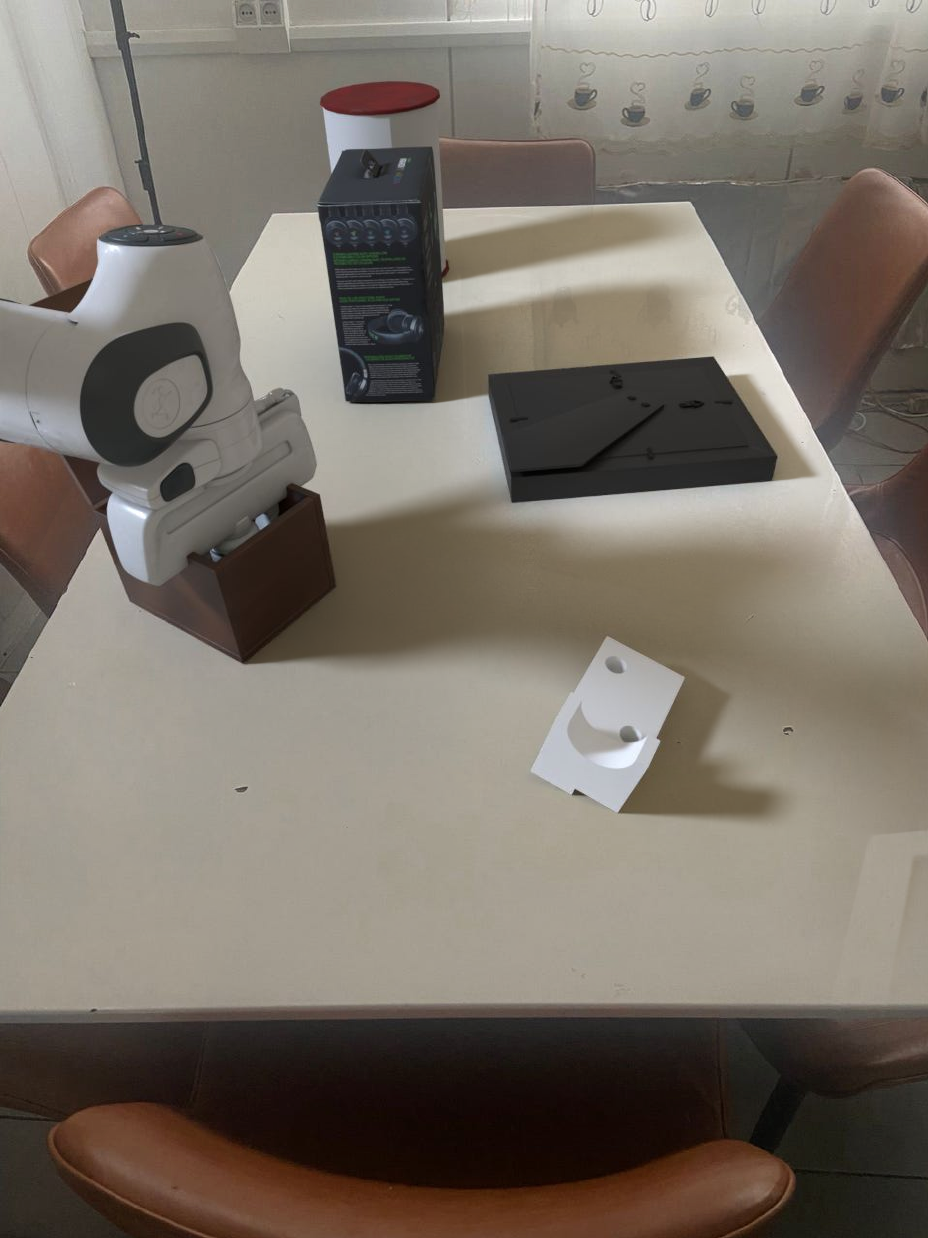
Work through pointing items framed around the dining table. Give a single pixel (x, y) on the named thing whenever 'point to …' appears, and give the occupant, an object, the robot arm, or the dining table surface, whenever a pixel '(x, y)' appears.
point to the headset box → (385, 272)
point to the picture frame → (625, 429)
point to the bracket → (609, 726)
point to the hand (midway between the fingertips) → (240, 564)
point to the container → (385, 125)
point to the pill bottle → (235, 538)
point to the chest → (244, 580)
